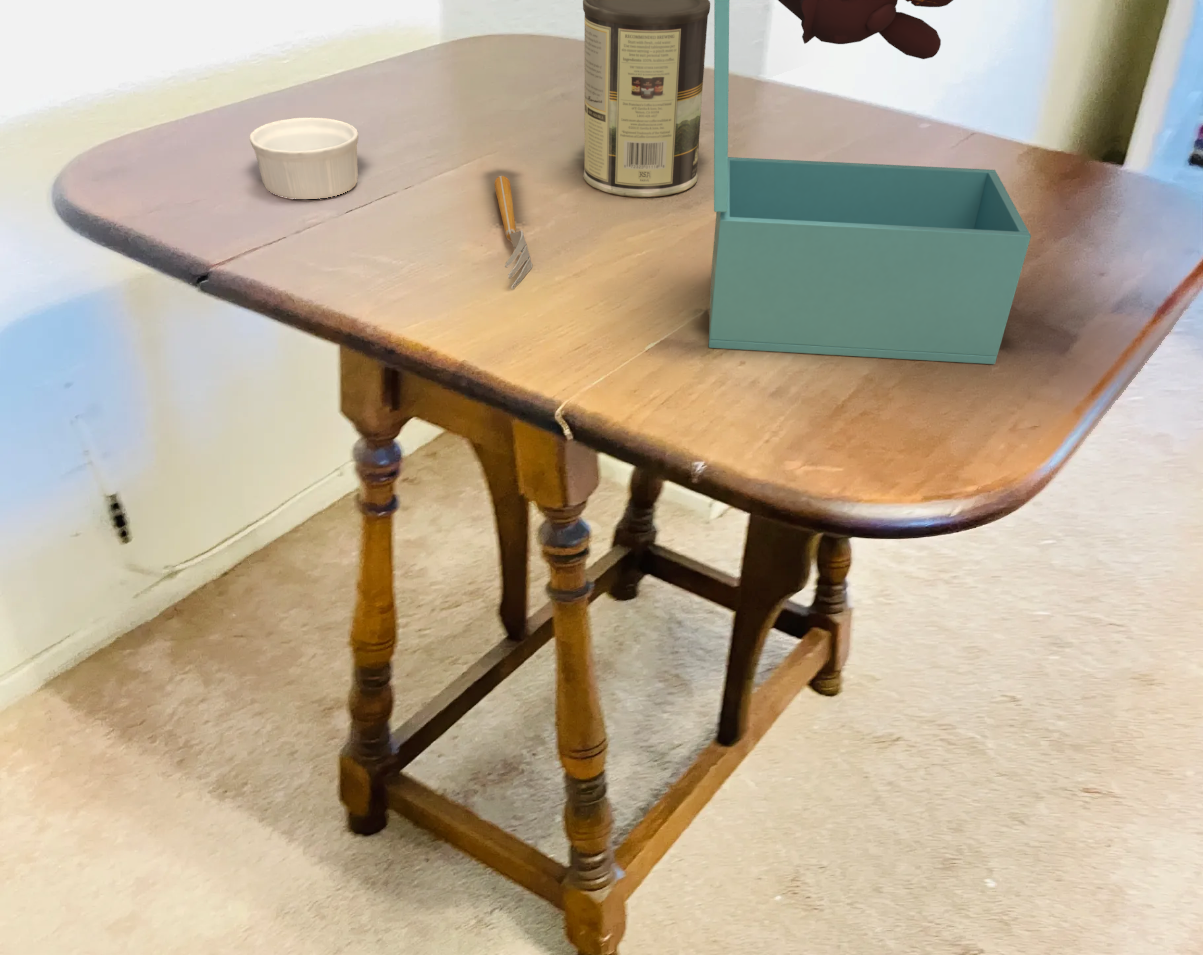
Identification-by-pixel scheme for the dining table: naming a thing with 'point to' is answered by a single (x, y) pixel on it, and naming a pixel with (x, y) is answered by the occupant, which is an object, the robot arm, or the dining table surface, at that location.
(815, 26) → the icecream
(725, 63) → the lid
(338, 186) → the ramekin
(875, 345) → the box
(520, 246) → the fork
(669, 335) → the dining table surface
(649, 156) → the coffee can
